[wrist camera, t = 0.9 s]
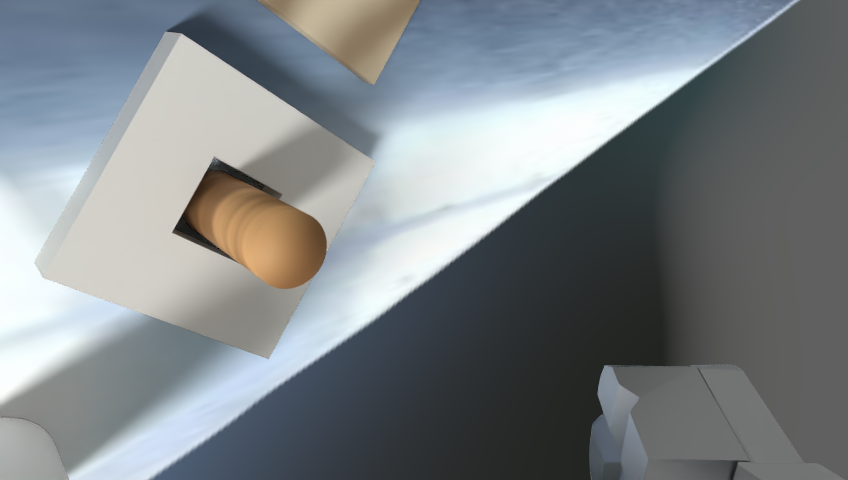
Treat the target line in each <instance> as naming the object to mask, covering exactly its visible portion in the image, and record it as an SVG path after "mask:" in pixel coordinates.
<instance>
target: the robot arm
mask: <svg viewBox="0 0 848 480" xmlns="http://www.w3.org/2000/svg"><path fill="white" fill-rule="evenodd" d="M598 396H599V400H600V403H601V406H602V409H603V412H604V414H602V415H601V416H600V417H599V418H598V419H597V420H596V421H595V422H594V423H593V426H592V433H591V440H590V472H591V478H592V480H844V479H842V478H841V477H839V476H837V475H836V474H834V473H833V472H831V471H829V470H828V469H826V468H825V467H823V466H821V465H820V464H808V463H807V464H806V463H804V462H803V461H802V459H801V458H800V456H799V455H798V453H797V452H796V450H795V449H794V447H793V446H792V444H791V443H790V441H789V440H788V438H787V437H786V435H785V434H784V432H783V431H782V429H781V428H780V426H779V425H778V423H777V422H776V420H775V419H774V417H773V416H772V414H771V413H770V411H769V410H768V408H767V407H766V405H765V404H764V402H763V401H762V399H761V398H760V396H759V395H758V393H757V392H756V390H755V389H754V387H753V386H752V384H751V383H750V381H749V380H748V378H747V377H746V375H745V374H744V372H743V371H742V369H740V368H738V367H737V366H735V365H691V366H690V367H685V366H684V367H683V366H681V367H679V366H605V367H604V370H603V372H602V375H601V377H600V383H599V389H598Z"/></svg>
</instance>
